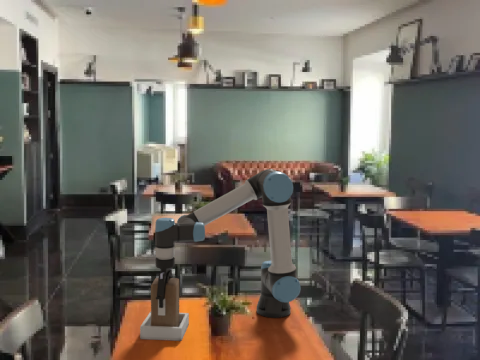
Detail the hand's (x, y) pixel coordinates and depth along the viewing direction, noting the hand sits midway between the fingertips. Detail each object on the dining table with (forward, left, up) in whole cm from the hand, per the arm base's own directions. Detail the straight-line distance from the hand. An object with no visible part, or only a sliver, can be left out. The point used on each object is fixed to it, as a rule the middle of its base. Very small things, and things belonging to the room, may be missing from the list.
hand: (165, 308), depth 216 cm
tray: (0, 0, -10) cm, 10 cm away
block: (0, 0, -9) cm, 9 cm away
